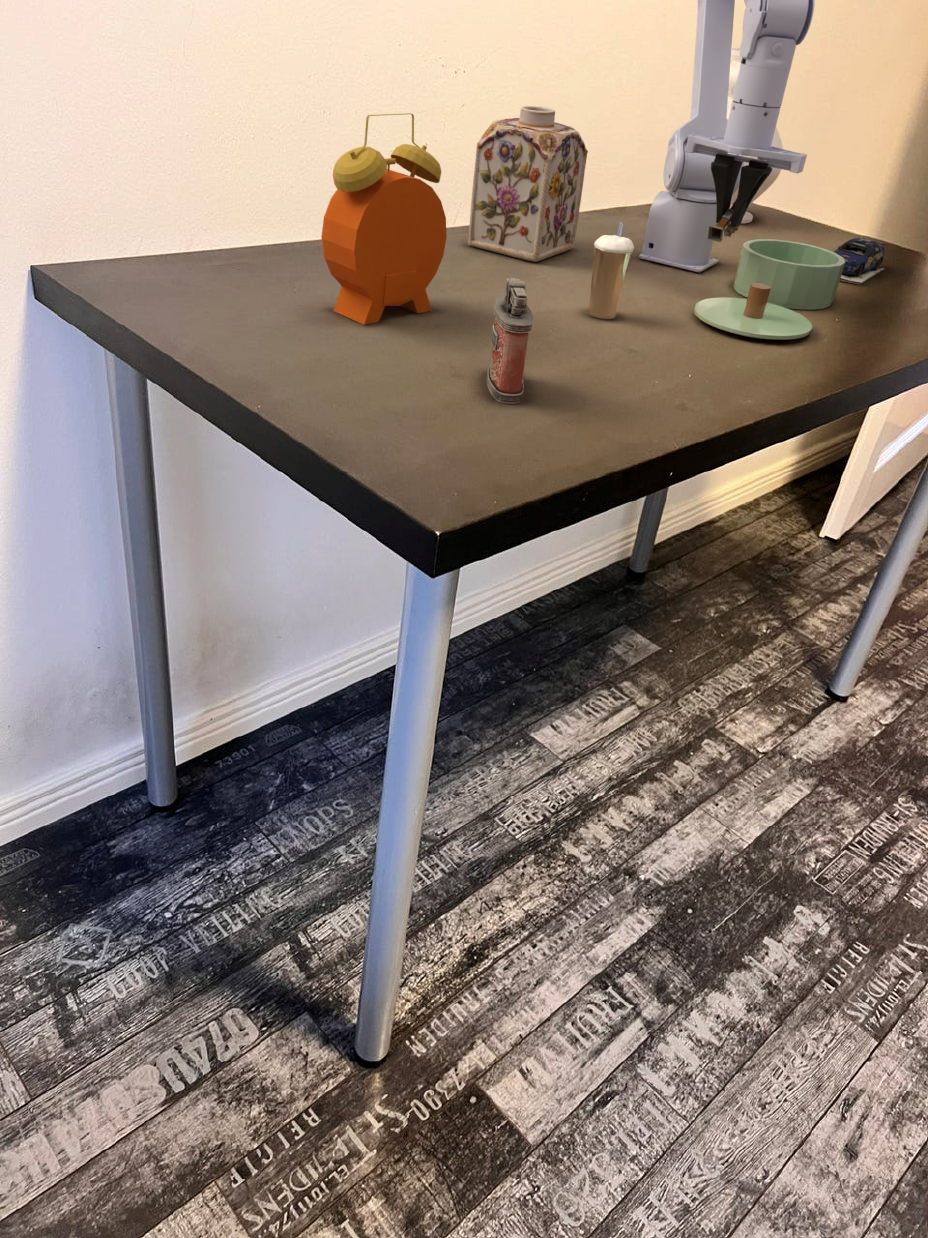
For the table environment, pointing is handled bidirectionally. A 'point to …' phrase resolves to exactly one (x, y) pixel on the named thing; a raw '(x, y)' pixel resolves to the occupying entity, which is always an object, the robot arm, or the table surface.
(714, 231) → the wooden post with brackets
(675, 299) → the table surface
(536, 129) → the decorative jar
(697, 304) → the lid
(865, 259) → the race car
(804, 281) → the canister
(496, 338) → the lighter
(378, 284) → the alarm clock
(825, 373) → the table surface
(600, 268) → the milkshake
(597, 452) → the table surface
